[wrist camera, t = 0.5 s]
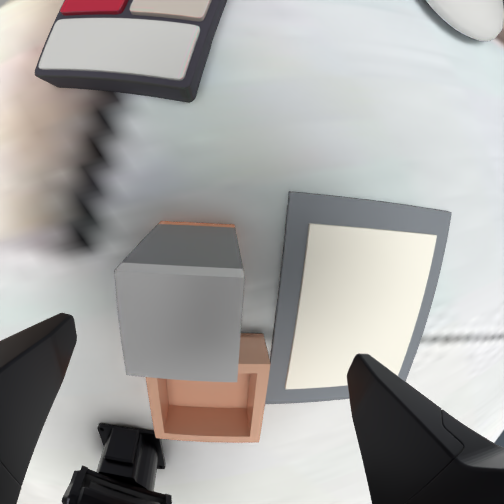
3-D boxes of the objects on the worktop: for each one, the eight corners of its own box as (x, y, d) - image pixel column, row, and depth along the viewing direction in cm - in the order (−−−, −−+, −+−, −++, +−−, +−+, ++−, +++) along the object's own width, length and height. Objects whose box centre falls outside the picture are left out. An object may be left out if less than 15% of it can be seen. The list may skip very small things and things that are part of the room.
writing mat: (399, 388, 27) (402, 392, 27) (264, 401, 26) (265, 406, 25) (448, 211, 23) (453, 213, 22) (289, 191, 21) (291, 192, 20)
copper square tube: (254, 410, 26) (259, 442, 22) (161, 406, 25) (155, 438, 21) (263, 333, 24) (270, 363, 20) (153, 328, 23) (143, 358, 19)
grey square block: (230, 293, 23) (237, 382, 13) (161, 289, 22) (126, 374, 13) (234, 224, 21) (244, 277, 12) (161, 221, 21) (114, 270, 11)
